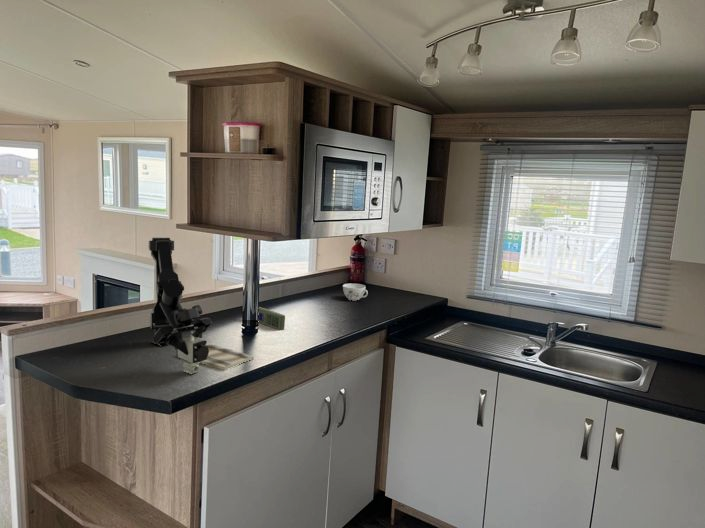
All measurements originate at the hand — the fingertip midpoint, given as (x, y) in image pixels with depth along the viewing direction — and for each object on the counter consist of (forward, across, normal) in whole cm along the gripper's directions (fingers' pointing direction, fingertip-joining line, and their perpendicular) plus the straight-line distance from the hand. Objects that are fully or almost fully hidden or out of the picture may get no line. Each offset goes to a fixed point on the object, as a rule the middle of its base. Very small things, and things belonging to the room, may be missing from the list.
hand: (195, 352), depth 160 cm
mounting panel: (0, +14, +9) cm, 17 cm away
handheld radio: (-13, +57, +24) cm, 63 cm away
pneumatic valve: (+4, 0, +6) cm, 7 cm away
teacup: (-13, +125, +24) cm, 128 cm away
